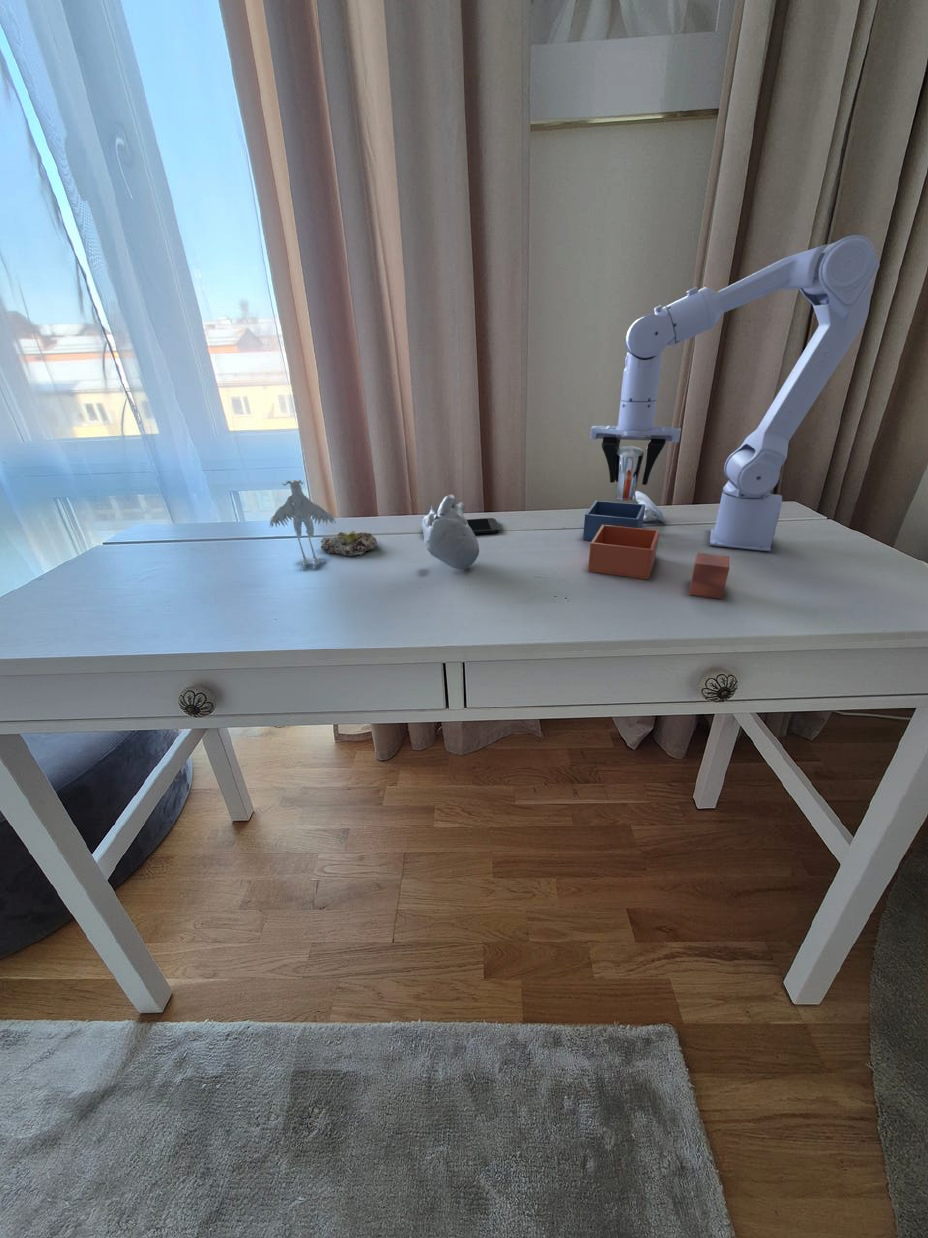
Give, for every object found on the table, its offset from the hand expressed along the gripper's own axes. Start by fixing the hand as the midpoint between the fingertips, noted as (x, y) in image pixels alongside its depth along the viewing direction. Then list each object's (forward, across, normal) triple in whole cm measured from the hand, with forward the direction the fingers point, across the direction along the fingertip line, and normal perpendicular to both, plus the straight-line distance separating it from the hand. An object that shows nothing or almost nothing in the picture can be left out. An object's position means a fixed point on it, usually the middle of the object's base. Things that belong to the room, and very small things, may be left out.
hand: (628, 482), depth 90 cm
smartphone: (+10, -31, -5) cm, 33 cm away
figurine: (+11, -49, -30) cm, 59 cm away
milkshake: (+3, 0, 0) cm, 3 cm away
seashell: (+11, +3, +11) cm, 16 cm away
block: (+10, +15, -19) cm, 26 cm away
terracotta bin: (+10, +2, -13) cm, 17 cm away
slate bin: (+10, -2, +1) cm, 11 cm away
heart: (+11, -25, -23) cm, 35 cm away
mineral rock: (+11, -47, -22) cm, 53 cm away
